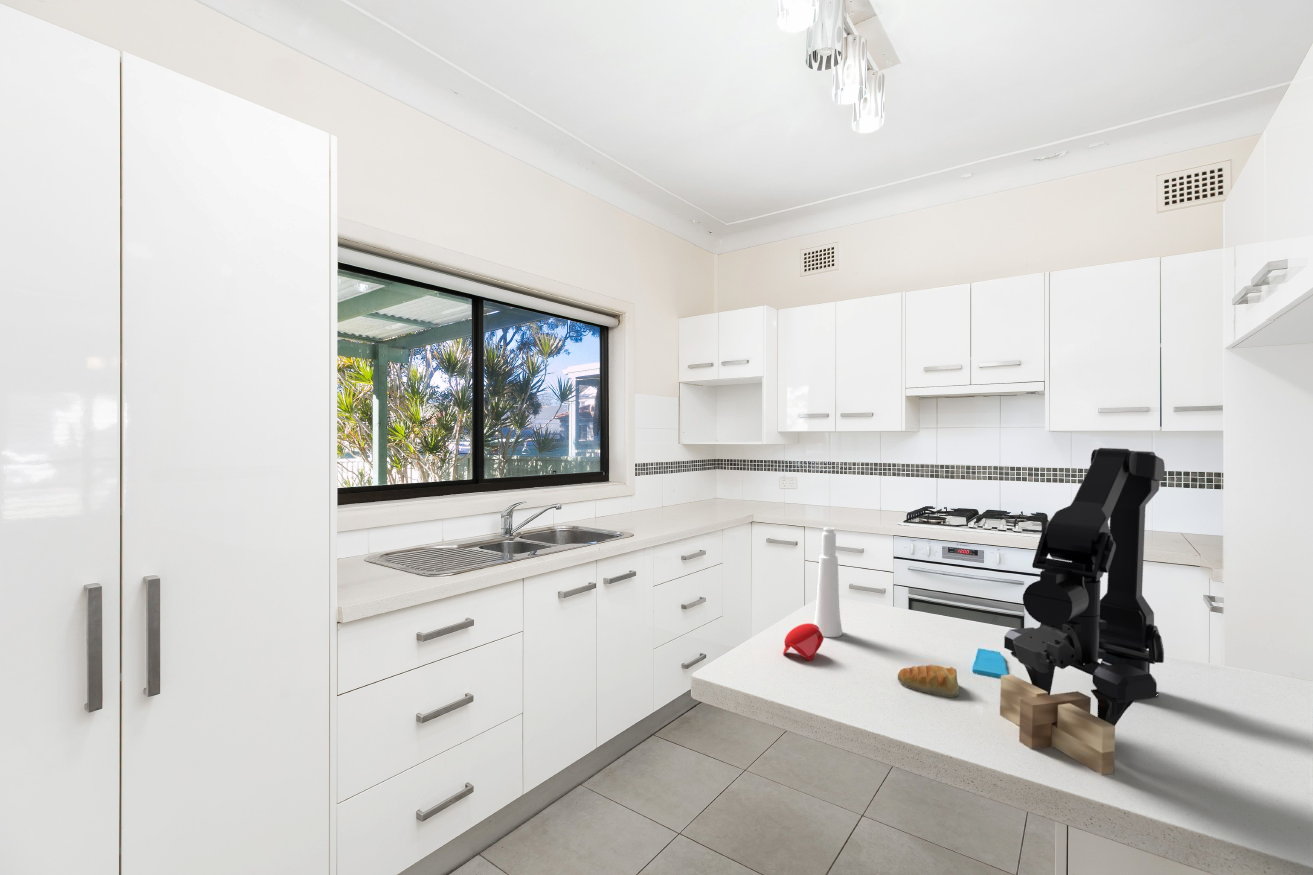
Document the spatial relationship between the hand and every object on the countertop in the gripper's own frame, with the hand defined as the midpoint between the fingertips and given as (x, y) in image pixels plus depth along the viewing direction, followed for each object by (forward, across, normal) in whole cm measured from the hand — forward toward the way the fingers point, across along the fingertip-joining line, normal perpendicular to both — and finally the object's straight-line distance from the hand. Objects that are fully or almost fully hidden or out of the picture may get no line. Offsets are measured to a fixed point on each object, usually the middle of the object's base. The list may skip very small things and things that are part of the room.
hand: (1071, 720), depth 85 cm
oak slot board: (+2, 0, -3) cm, 4 cm away
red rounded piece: (+3, -36, -22) cm, 42 cm away
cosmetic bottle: (+3, -46, -11) cm, 47 cm away
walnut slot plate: (+2, 0, -3) cm, 4 cm away
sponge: (+3, -24, +9) cm, 26 cm away
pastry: (+3, -19, -8) cm, 20 cm away
